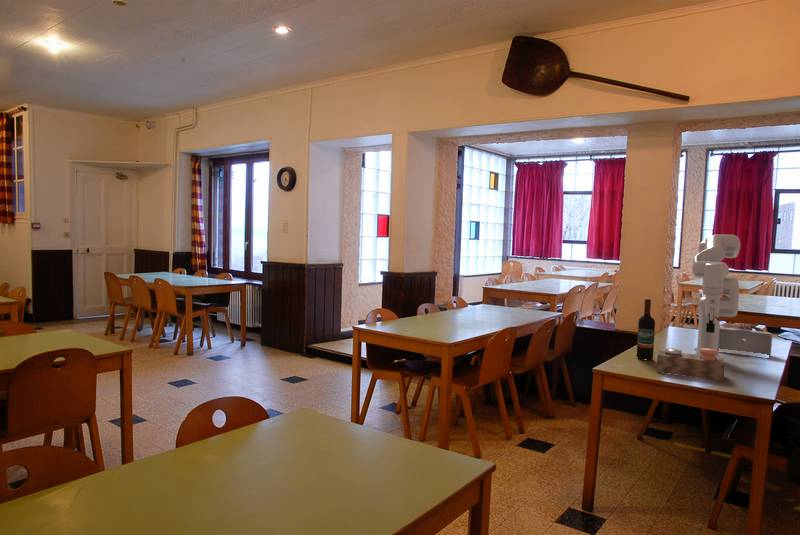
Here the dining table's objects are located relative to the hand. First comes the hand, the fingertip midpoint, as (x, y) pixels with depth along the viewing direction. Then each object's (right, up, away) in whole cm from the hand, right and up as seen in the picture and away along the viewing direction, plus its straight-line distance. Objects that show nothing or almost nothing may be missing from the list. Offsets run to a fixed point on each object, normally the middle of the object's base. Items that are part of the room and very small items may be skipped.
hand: (710, 332), depth 237 cm
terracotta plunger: (-1, -16, +1) cm, 16 cm away
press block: (-7, -19, +4) cm, 21 cm away
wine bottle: (-14, -18, +32) cm, 39 cm away
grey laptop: (+47, -18, +51) cm, 72 cm away
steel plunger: (-13, -18, +8) cm, 23 cm away
